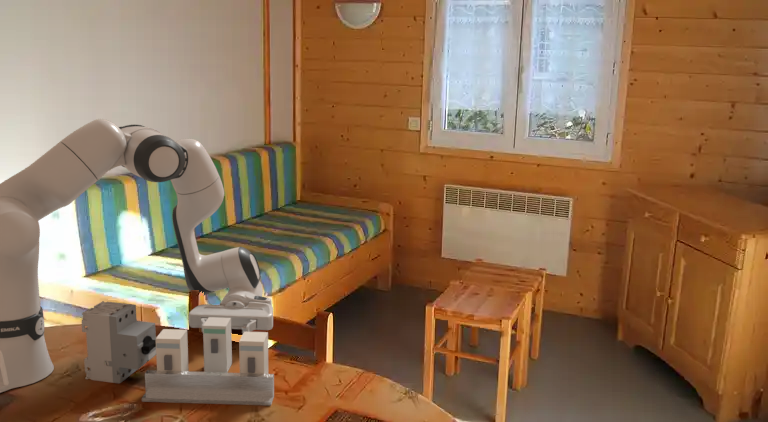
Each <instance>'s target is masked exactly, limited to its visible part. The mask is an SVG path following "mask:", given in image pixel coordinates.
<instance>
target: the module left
mask: <svg viewBox="0 0 768 422" xmlns="http://www.w3.org/2000/svg"><path fill="white" fill-rule="evenodd" d="M188 343H189V341H188V329H173V328H172V329H171V328H169V329H168V328H163V329H162V330H160V333H159V334H158V335H157V336H156V355H155V356H156V358H155V359H156V370H159V371H190V370H189V348H188V347H189V345H188Z"/></svg>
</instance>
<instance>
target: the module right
mask: <svg viewBox="0 0 768 422" xmlns="http://www.w3.org/2000/svg"><path fill="white" fill-rule="evenodd" d="M238 345H239V346H238V347H239V348H238V349H239V373H257V374H269V332H268V331H267V332H266V331H250V332H244V333H243V334H242V335H241V337H240V339H239V341H238Z"/></svg>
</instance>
